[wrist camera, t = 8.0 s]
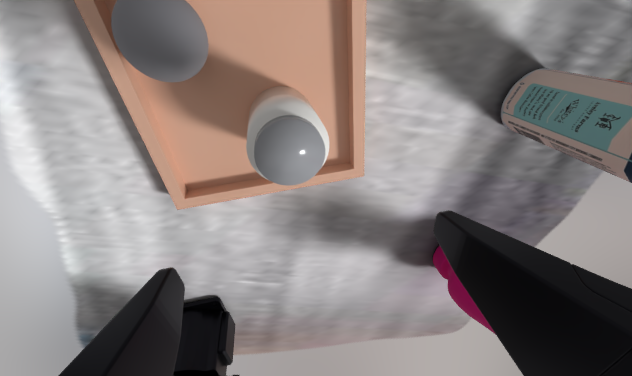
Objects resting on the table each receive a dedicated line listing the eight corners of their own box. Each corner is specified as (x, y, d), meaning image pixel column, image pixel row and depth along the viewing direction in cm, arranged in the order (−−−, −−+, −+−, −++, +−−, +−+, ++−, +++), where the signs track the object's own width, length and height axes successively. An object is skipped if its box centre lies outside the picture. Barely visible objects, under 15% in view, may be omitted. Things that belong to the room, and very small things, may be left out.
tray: (182, 197, 20) (177, 209, 19) (71, -42, 12) (49, -49, 11) (357, 166, 22) (364, 176, 20) (356, -65, 14) (367, -74, 13)
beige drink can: (546, 116, 22) (774, 193, 13) (493, 136, 23) (678, 228, 13) (559, 57, 20) (862, 96, 10) (499, 80, 20) (739, 141, 10)
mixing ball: (152, 79, 15) (123, 96, 12) (116, -7, 13) (69, -15, 10) (222, 70, 16) (213, 84, 12) (199, -15, 13) (181, -25, 10)
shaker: (256, 154, 19) (256, 198, 14) (241, 91, 16) (235, 119, 12) (316, 144, 19) (335, 183, 15) (310, 81, 17) (330, 105, 12)
